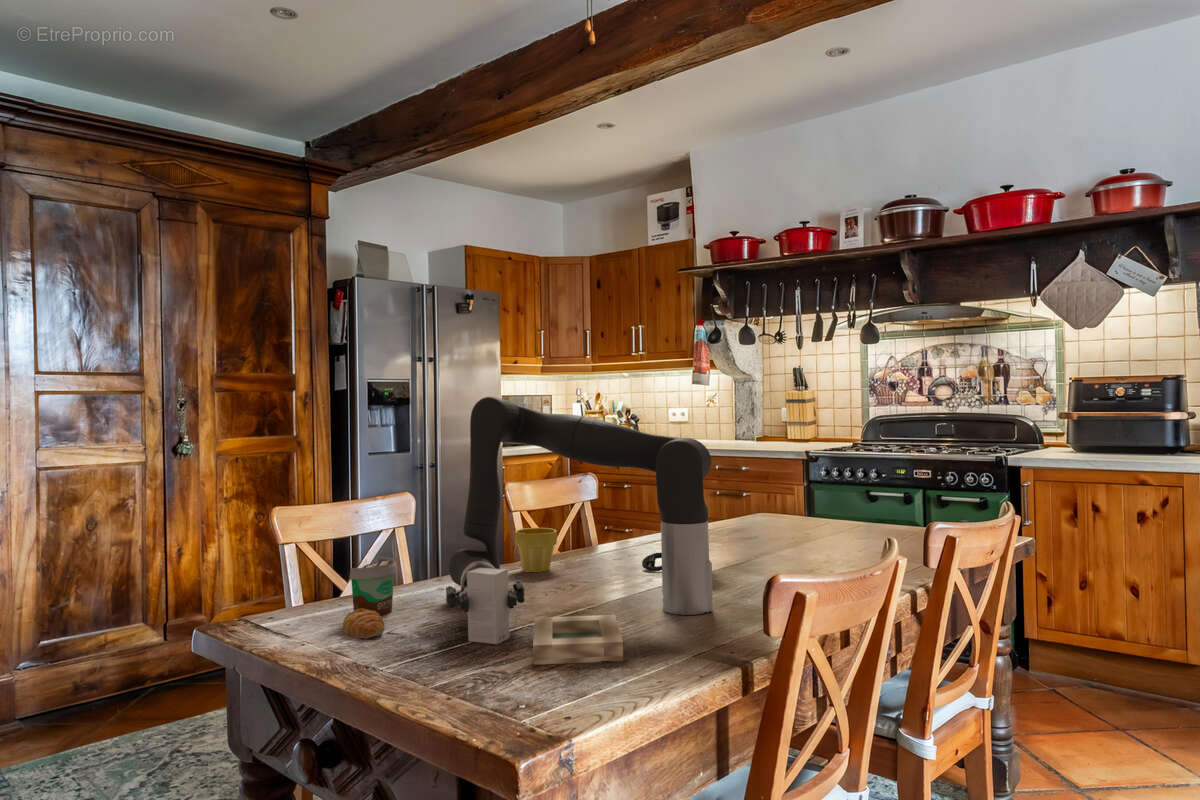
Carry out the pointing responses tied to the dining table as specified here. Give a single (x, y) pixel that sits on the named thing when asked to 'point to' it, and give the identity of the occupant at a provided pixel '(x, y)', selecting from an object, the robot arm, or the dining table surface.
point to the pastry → (363, 624)
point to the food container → (374, 586)
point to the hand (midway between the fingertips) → (489, 604)
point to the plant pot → (535, 548)
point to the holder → (576, 640)
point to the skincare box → (488, 605)
